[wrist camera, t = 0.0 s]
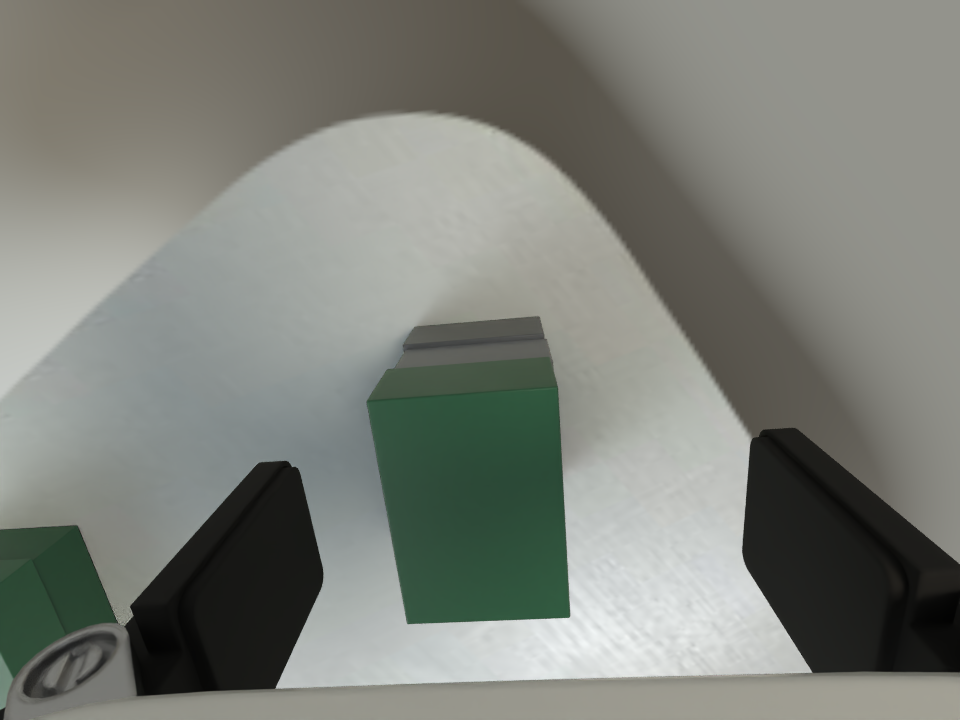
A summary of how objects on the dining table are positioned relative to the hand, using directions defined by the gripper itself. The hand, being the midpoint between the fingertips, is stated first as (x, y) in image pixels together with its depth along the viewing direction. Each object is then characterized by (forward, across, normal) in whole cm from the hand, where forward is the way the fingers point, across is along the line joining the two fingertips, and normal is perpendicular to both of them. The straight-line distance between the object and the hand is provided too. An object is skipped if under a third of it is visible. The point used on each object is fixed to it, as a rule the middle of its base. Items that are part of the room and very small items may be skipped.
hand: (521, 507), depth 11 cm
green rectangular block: (+8, +2, +4) cm, 10 cm away
